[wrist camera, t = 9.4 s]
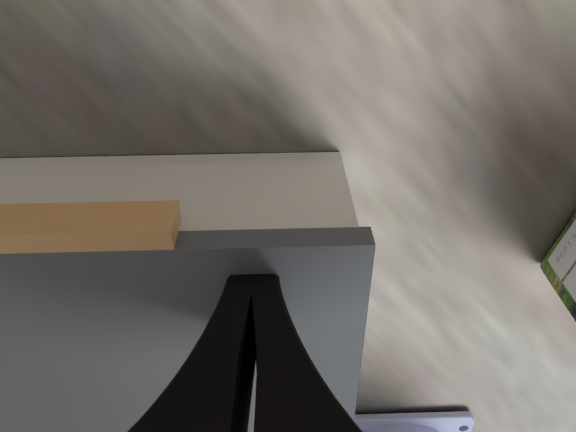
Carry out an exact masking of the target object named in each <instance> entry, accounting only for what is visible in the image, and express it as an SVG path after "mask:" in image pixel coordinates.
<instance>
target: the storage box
mask: <svg viewBox="0 0 576 432" xmlns="http://www.w3.org/2000/svg"><path fill="white" fill-rule="evenodd" d="M168 200H179V204H180V211H181V217H182V219H181V223H180V227H179V231H204V230H249V229H293V228H338V227H359V225H358V221H357V217H356V213H355V209H354V205H353V201H352V197H351V193H350V189H349V185H348V181H347V177H346V174H345V170H344V166H343V162H342V158H341V154H340V152H306V153H253V154H200V155H147V156H95V157H42V158H0V204H24V203H72V202H120V201H168Z"/></svg>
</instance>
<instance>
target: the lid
mask: <svg viewBox="0 0 576 432" xmlns="http://www.w3.org/2000/svg"><path fill="white" fill-rule="evenodd" d="M181 219H182V217H181V211H180V204H179V200H168V201H120V202H72V203H24V204H0V432H128V430H129V429H130V428H131V427H132V426H133V425H134V424H135V423H136V422H137V421H138V420H139V419H140V418H141V417H142V416H143V415H144V414H145V412H146V411H147V410H148V409H149V408H150V407H151V405H152V404H153V403H154V402H155V401H156V399H157V398H158V397H159V396H160V394H161V393H162V392H163V391H164V390H165V388H166V387H167V386H168V384H169V383H170V382H171V380H172V379H173V378H174V376H175V375H176V374H177V372H178V371H179V369H180V368H181V367H182V365H183V364H184V362H185V361H186V359H187V358H188V356H189V355H190V353H191V351H192V350H193V348H194V346H195V345H196V343H197V341H198V340H199V338H200V336H201V335H202V333H203V331H204V329H205V328H206V326H207V324H208V322H209V320H210V318H211V316H212V314H213V312H214V310H215V308H216V306H217V304H218V301H219V299H220V297H221V295H222V292H223V289H224V287H225V284H226V280H227V278H228V277H229V276H230V275H244V274H276V275H277V276H279V280H280V286H281V290H282V294H283V298H284V301H285V304H286V306H287V309H288V312H289V315H290V317H291V319H292V322H293V324H294V326H295V328H296V331H297V333H298V335H299V337H300V339H301V341H302V343H303V345H304V347H305V349H306V351H307V353H308V355H309V356H310V358H311V360H312V362H313V363H314V365H315V367H316V369H317V370H318V372H319V373H320V375H321V377H322V378H323V380H324V381H325V383H326V384H327V386H328V387H329V389H330V390H331V392H332V393H333V395H334V396H335V397H336V399H337V400H338V401H339V403H340V404H341V405H342V407H343V408H344V409H345V410H346V412H347V413H348V414H349V416H350V417H351V418H352V419H353V421H354V418H355V409H356V401H357V393H358V385H359V376H360V368H361V360H362V352H363V343H364V335H365V327H366V319H367V310H368V302H369V294H370V286H371V277H372V269H373V261H374V253H375V242H374V238H373V235H372V231H371V227H338V228H293V229H249V230H204V231H179V227H180V223H181ZM256 376H257V370H256V363H255V372H254V381H253V389H252V398H251V407H250V415H249V424H248V432H254V418H255V398H256Z"/></svg>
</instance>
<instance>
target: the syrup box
mask: <svg viewBox="0 0 576 432" xmlns="http://www.w3.org/2000/svg"><path fill="white" fill-rule="evenodd" d="M540 267H541V269H542V271H543V273H544V274H545V276H546V277H547V279H548V280H549V282H550V283H551V285H552V286H553V288H554V289H555V291H556V292H557V294H558V295H559V297H560V298H561V300H562V302H563V303H564V305H565V306H566V308H567V309H568V311H569V312H570V314H571V315H572V317H573V318H574V320H575V321H576V212H575V213H574V215H573V216H572V218H571V219H570V221H569V222H568V224H567V225H566V227H565V228H564V230H563V231H562V233H561V234H560V236H559V237H558V239H557V240H556V241H555V243H554V244H553V246H552V247H551V249H550V250H549V251H548V253H547V255H546V256H545V258H544V259H543V261H542V263H541V265H540Z"/></svg>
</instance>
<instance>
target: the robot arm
mask: <svg viewBox="0 0 576 432" xmlns="http://www.w3.org/2000/svg"><path fill="white" fill-rule="evenodd" d="M255 363H256V370H257V376H256V398H255V418H254V432H471V430H472V427H473V424H474V417H473V415H472V413H470V412H468V411H455V412H422V413H390V414H357V415H355V418H354V421H353V419H352V418H351V417H350V416H349V414H348V413H347V412H346V410H345V409H344V408H343V407H342V405H341V404H340V403H339V401H338V400H337V399H336V397H335V396H334V395H333V393H332V392H331V390H330V389H329V387H328V386H327V384H326V383H325V381H324V380H323V378H322V377H321V375H320V373H319V372H318V370H317V369H316V367H315V365H314V363H313V362H312V360H311V358H310V356H309V355H308V353H307V351H306V349H305V347H304V345H303V343H302V341H301V339H300V337H299V335H298V333H297V331H296V328H295V326H294V324H293V322H292V319H291V317H290V315H289V312H288V309H287V306H286V304H285V301H284V298H283V294H282V290H281V286H280V280H279V276H277V275H276V274H244V275H230V276H229V277H228V278H227V280H226V284H225V287H224V289H223V292H222V295H221V297H220V299H219V301H218V304H217V306H216V308H215V310H214V312H213V314H212V316H211V318H210V320H209V322H208V324H207V326H206V328H205V329H204V331H203V333H202V335H201V336H200V338H199V340H198V341H197V343H196V345H195V346H194V348H193V350H192V351H191V353H190V355H189V356H188V358H187V359H186V361H185V362H184V364H183V365H182V367H181V368H180V369H179V371H178V372H177V374H176V375H175V376H174V378H173V379H172V380H171V382H170V383H169V384H168V386H167V387H166V388H165V390H164V391H163V392H162V393H161V394H160V396H159V397H158V398H157V399H156V401H155V402H154V403H153V404H152V405H151V407H150V408H149V409H148V410H147V411H146V412H145V414H144V415H143V416H142V417H141V418H140V419H139V420H138V421H137V422H136V423H135V424H134V425H133V426H132V427H131V428H130V429H129V430H128V432H248V424H249V415H250V407H251V398H252V389H253V381H254V372H255Z"/></svg>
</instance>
